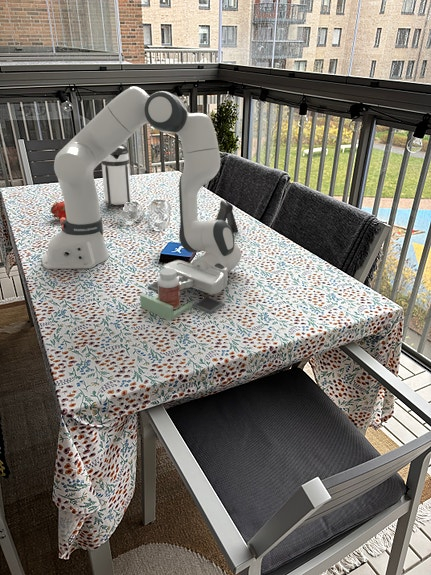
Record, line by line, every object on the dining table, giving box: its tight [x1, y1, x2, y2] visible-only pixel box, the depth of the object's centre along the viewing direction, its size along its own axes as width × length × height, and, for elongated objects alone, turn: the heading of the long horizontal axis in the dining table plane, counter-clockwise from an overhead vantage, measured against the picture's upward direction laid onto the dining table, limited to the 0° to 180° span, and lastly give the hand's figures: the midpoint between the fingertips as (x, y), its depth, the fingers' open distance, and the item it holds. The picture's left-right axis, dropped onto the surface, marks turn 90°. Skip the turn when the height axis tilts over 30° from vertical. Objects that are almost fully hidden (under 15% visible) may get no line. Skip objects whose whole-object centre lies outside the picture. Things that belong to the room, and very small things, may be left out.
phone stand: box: [215, 200, 239, 234], centre depth 181 cm, size 9×6×12 cm, turn 112°
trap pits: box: [147, 280, 225, 315], centre depth 135 cm, size 7×25×1 cm, turn 54°
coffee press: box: [100, 143, 132, 209], centre depth 204 cm, size 17×16×30 cm
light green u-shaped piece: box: [139, 293, 194, 321], centre depth 128 cm, size 10×11×4 cm
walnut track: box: [202, 280, 230, 298], centre depth 141 cm, size 12×11×1 cm
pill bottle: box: [157, 268, 181, 311], centre depth 127 cm, size 6×6×11 cm
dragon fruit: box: [49, 200, 67, 221], centre depth 189 cm, size 8×8×12 cm
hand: (176, 286), depth 130 cm, fingers closed, pressing on pill bottle
